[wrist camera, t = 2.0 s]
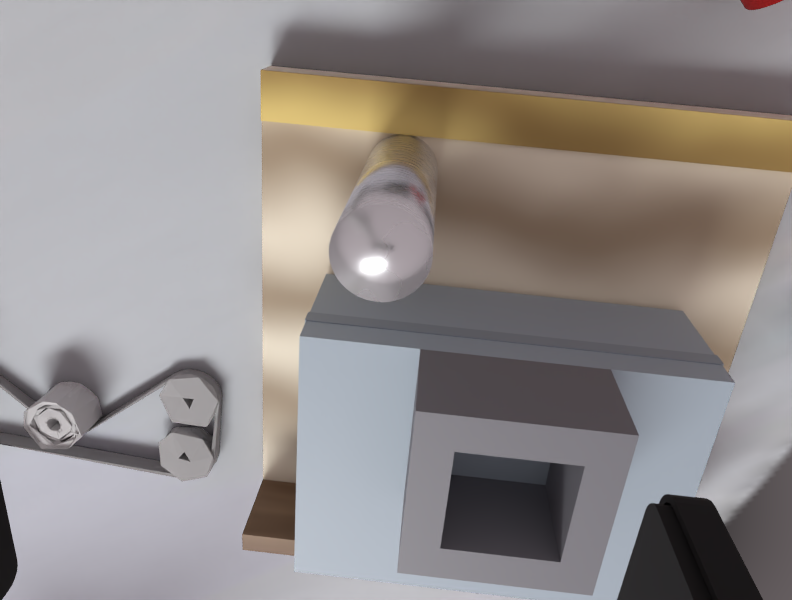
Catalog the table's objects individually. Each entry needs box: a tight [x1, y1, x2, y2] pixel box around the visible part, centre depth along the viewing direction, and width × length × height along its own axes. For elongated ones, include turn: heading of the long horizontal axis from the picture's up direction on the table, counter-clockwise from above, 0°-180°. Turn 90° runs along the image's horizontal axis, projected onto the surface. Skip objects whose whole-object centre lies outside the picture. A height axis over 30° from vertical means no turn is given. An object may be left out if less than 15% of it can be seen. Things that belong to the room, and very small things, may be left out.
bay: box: [242, 66, 792, 556], centre depth 30 cm, size 22×22×6 cm
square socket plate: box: [294, 274, 735, 600], centre depth 28 cm, size 12×16×10 cm
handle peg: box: [329, 134, 438, 302], centre depth 24 cm, size 3×3×10 cm
